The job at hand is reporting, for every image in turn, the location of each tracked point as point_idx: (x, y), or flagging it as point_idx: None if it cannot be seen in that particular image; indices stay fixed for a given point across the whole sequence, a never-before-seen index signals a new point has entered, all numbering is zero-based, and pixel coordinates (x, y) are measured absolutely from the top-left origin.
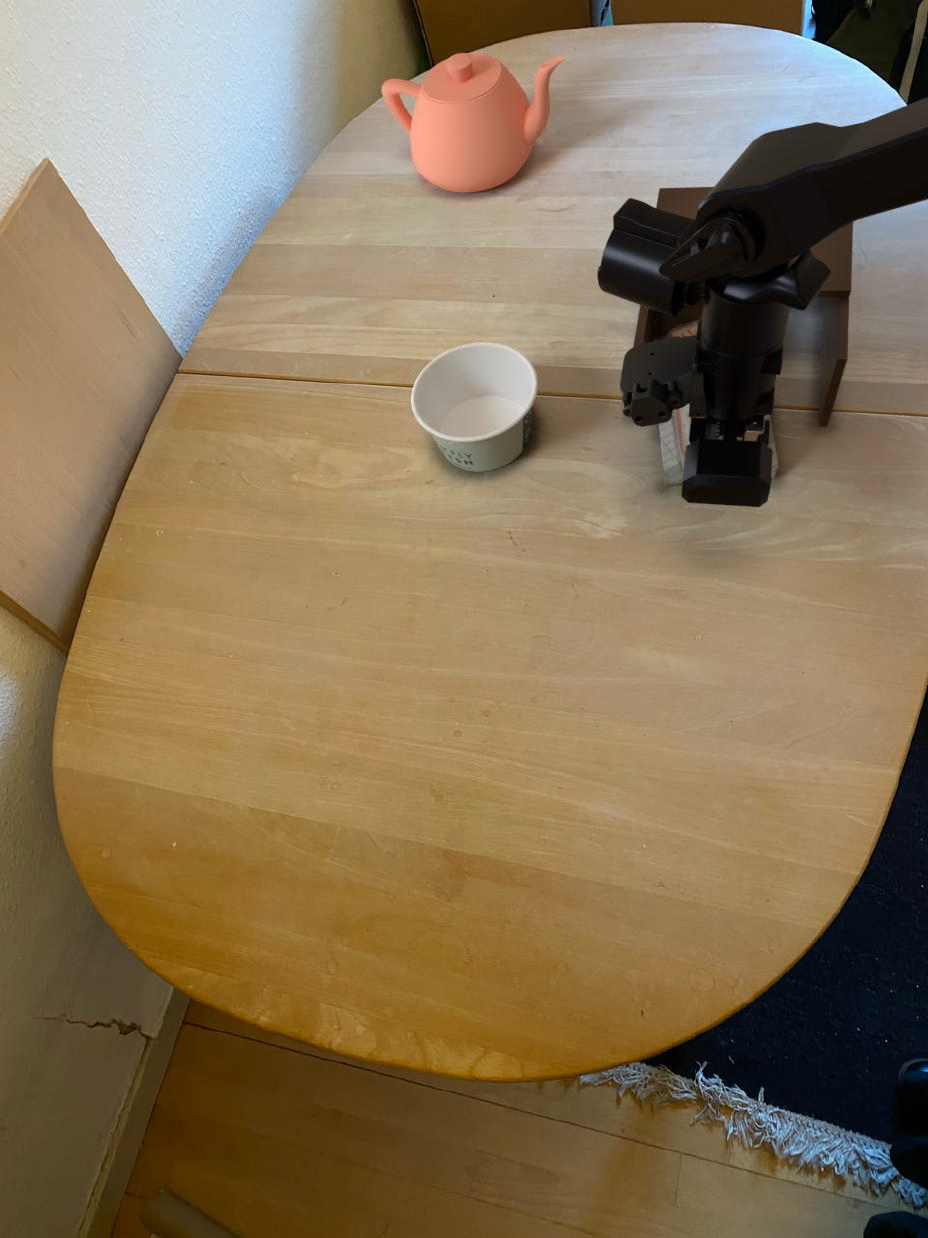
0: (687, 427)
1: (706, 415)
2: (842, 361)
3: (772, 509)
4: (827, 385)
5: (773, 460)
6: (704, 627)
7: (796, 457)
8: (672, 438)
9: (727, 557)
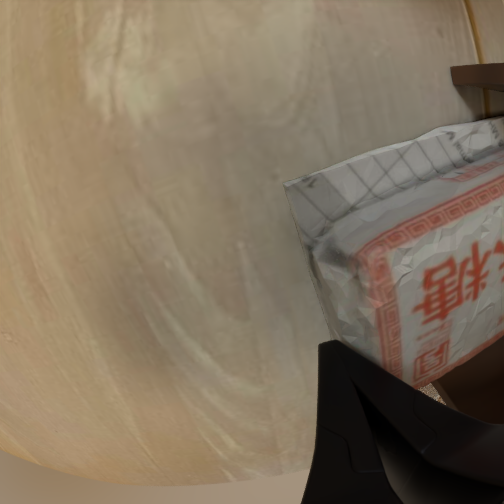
0: (447, 244)
1: (452, 482)
2: None
3: (276, 381)
4: (476, 411)
5: None
6: (22, 341)
7: None
8: (418, 170)
9: (147, 350)
